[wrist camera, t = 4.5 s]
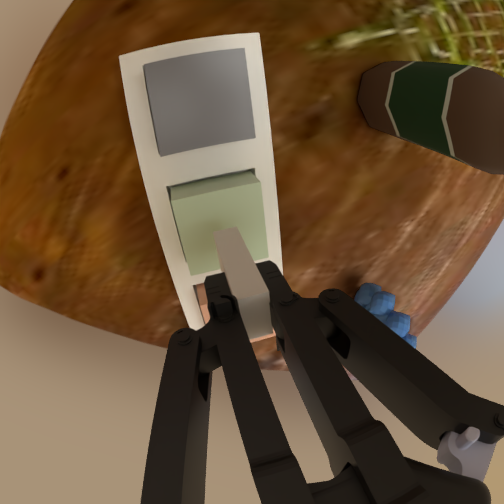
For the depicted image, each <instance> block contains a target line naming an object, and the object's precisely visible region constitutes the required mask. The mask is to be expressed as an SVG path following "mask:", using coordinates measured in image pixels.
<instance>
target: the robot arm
mask: <svg viewBox="0 0 504 504" xmlns="http://www.w3.org/2000/svg"><path fill="white" fill-rule="evenodd" d="M213 235H214V240H215V245H216V250H217V255H218V259H219V264H220V268H221V272H222V273H218V274H213V275H209V276H206V278H205V281H204V287H205V291H206V296H207V301H208V304H207V308H208V311H209V315H210V320H209V321H208V323H207V324H206V325H205V326H203V327H202V328H200V329H198V330H194V329H192V328H183V329H179V330H178V331H176V332H175V333H174V334H172V336H171V338H170V341H169V345H168V350H167V354H166V359H165V363H164V368H163V373H162V377H161V382H160V387H159V392H158V397H157V402H156V408H155V413H154V419H153V424H152V429H151V435H150V442H149V447H148V454H147V460H146V467H145V474H144V481H143V489H142V497H141V504H204V500H205V477H206V459H207V440H208V424H209V411H210V397H211V384H212V371H213V370H215V369H216V368H218V367H220V366H222V367H223V371H224V375H225V379H226V383H227V386H228V390H229V394H230V398H231V401H232V405H233V409H234V412H235V416H236V420H237V423H238V427H239V430H240V434H241V437H242V440H243V444H244V447H245V450H246V454H247V457H248V460H249V463H250V468H251V472H252V476H253V479H254V482H255V485H256V488H257V491H258V494H259V497H260V500H261V503H262V504H491V496H490V492H489V489H488V488H487V486H486V485H485V484H484V483H483V480H484V478H485V475H486V472H487V470H488V467H489V464H490V461H491V458H492V455H493V452H494V448H495V446H496V443H497V442H498V441H499V440H500V439H501V438H503V437H504V406H503V405H500V404H497V403H495V402H492V401H489V400H487V399H484V398H481V397H478V396H476V395H473V394H470V393H468V392H467V391H466V390H465V389H464V388H462V387H461V386H460V385H459V384H458V383H456V382H455V381H454V380H453V379H451V378H450V377H449V376H448V375H447V374H446V373H444V372H443V371H442V370H441V369H439V368H438V367H437V366H436V365H435V364H433V363H432V362H431V361H430V360H428V359H427V358H426V357H425V356H424V355H422V354H421V353H420V352H419V351H418V350H416V349H415V348H414V347H413V346H411V345H410V344H409V343H408V342H406V341H405V340H404V339H403V338H401V337H400V336H399V335H398V334H396V333H395V332H394V331H393V330H391V329H390V328H389V327H388V326H386V325H385V324H384V323H382V322H381V321H380V320H379V319H377V318H376V317H375V316H374V315H372V314H371V313H370V312H369V311H367V310H366V309H365V308H363V307H362V306H361V305H360V304H358V303H357V302H356V301H354V300H353V299H352V298H351V297H349V296H348V295H347V294H345V293H344V292H343V291H341V290H339V289H326V290H324V291H322V292H321V293H320V295H319V298H302V297H301V296H300V295H299V294H297V293H295V292H293V291H292V290H291V288H290V286H289V285H288V283H287V281H286V280H285V278H284V276H283V275H282V273H281V271H280V270H279V268H278V266H277V265H276V264H275V263H273V262H272V261H270V260H268V261H264V262H260V263H256V264H255V262H254V260H253V258H252V256H251V254H250V252H249V250H248V248H247V246H246V244H245V242H244V240H243V238H242V236H241V234H240V232H239V230H238V228H237V226H236V227H232V228H227V229H223V230H219V231H214V232H213ZM273 329H274V331H275V333H276V343H277V351H279V350H281V353H282V355H283V357H284V359H285V362H286V364H287V366H288V368H289V371H290V373H291V375H292V377H293V380H294V382H295V384H296V386H297V389H298V390H299V393H300V395H301V398H302V400H303V402H304V404H305V406H306V409H307V411H308V413H309V415H310V417H311V420H312V422H313V424H314V426H315V429H316V431H317V433H318V435H319V437H320V440H321V442H322V444H323V446H324V448H325V451H326V453H327V455H328V458H329V462H330V467H331V470H332V472H333V475H334V478H333V479H331V480H329V481H324V482H317V483H309V484H307V483H306V480H305V478H304V476H303V473H302V471H301V468H300V466H299V464H298V461H297V459H296V457H295V456H294V454H293V453H292V451H291V449H290V446H289V444H288V441H287V439H286V436H285V434H284V431H283V429H282V426H281V423H280V421H279V418H278V416H277V413H276V410H275V408H274V405H273V402H272V400H271V397H270V394H269V392H268V389H267V386H266V384H265V381H264V378H263V376H262V373H261V370H260V367H259V365H258V362H257V359H256V356H255V354H254V351H253V348H252V345H251V343H250V340H251V339H255V338H259V337H262V336H266V335H269V334H273ZM279 348H280V349H279ZM342 365H343V366H344V367H345V368H346V369H347V370H348V371H349V372H350V373H351V374H352V375H353V376H355V377H356V378H357V379H358V380H359V381H360V382H361V383H362V384H363V385H364V386H365V387H366V388H367V389H368V390H369V391H370V392H371V393H372V394H373V395H374V396H375V397H376V398H377V399H378V400H379V401H380V402H381V403H382V404H383V405H384V406H385V407H386V408H387V409H388V410H390V411H391V412H392V413H393V414H394V415H395V416H396V417H397V418H398V419H399V420H400V421H401V422H402V423H403V424H404V425H405V426H406V427H407V428H408V429H409V430H410V431H412V432H413V433H414V434H415V435H416V436H417V437H418V438H419V439H420V440H422V441H423V442H424V443H426V444H427V445H429V446H430V447H432V448H434V449H436V450H438V455H437V461H438V462H439V463H441V464H444V465H445V466H447V468H448V469H449V471H450V472H449V471H446V470H442V469H439V468H436V467H433V466H430V465H427V464H424V463H421V462H418V461H415V460H412V459H410V458H407V457H403V455H402V453H401V451H400V450H399V448H398V446H397V445H396V443H395V441H394V439H393V438H392V436H391V434H390V433H389V431H388V429H387V428H386V426H385V425H384V424H383V423H382V422H381V421H378V420H375V419H374V418H373V417H372V416H371V414H370V412H369V410H368V408H367V407H366V405H365V403H364V402H363V400H362V398H361V397H360V395H359V393H358V392H357V390H356V388H355V386H354V385H353V383H352V381H351V380H350V378H349V376H348V374H347V373H346V371H345V369H344V368H343V366H342Z"/></svg>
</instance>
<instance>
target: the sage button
mask: <svg viewBox="0 0 504 504" xmlns="http://www.w3.org/2000/svg"><path fill="white" fill-rule="evenodd" d="M171 204H172V208H173V212H174V216H175V220H176V224H177V227H178V231H179V235H180V239H181V243H182V246H183V250H184V254H185V257H186V261H187V264H188V268H189V271H190V275H191V276H193V275H198V274H202V273H206V272H210V271H214V270H219V269H221V268H220V264H219V259H218V255H217V250H216V245H215V240H214V235H213V232H214V231H219V230H223V229H227V228H232V227H236V226H237V228H238V230H239V232H240V234H241V236H242V238H243V240H244V242H245V244H246V246H247V248H248V250H249V252H250V254H251V256H252V258H253V260H254V261H256V260H260V259H264V258H268V257H269V255H268V245H267V235H266V226H265V216H264V207H263V197H262V188H261V182H260V181H259V180H258V179H257V178H256V177H255V176H254V175H253V174H252V173H251V171H246V172H240V173H235V174H230V175H225V176H220V177H215V178H210V179H206V180H201V181H197V182H192V183H188V184H183V185H179V186H175V187H171Z"/></svg>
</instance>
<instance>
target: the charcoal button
mask: <svg viewBox="0 0 504 504" xmlns="http://www.w3.org/2000/svg"><path fill="white" fill-rule="evenodd" d="M144 69H145V75H146V81H147V88H148V94H149V99H150V105H151V111H152V116H153V121H154V126H155V132H156V137H157V141H158V146H159V151H160V156H161V157H163V156H167V155H171V154H175V153H180V152H184V151H189V150H193V149H198V148H203V147H208V146H213V145H218V144H224V143H229V142H235V141H241V140H247V139H254V138H256V135H255V127H254V118H253V110H252V102H251V94H250V86H249V78H248V70H247V62H246V55H245V48H236V49H226V50H218V51H210V52H203V53H197V54H190V55H185V56H179V57H174V58H169V59H164V60H160V61H155V62H151V63H147V64H144Z"/></svg>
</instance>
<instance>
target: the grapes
mask: <svg viewBox="0 0 504 504" xmlns="http://www.w3.org/2000/svg"><path fill="white" fill-rule="evenodd" d="M354 301H356V302H357V303H358V304H360V305H361V306H362V307H363V308H365V309H366V310H367V311H369V312H370V313H371V314H372V315H374V316H375V317H376V318H377V319H379V320H380V321H381V322H382V323H384V324H385V325H386V326H388V327H389V328H390V329H391V330H393V331H394V332H395V333H396V334H398V335H399V336H400V337H401V338H403V339H404V340H405V341H406V342H408V343H409V344H410V345H411V346H413V347H414V348H415V349H416V342H417V341H416V338H417V337H416V336H413V335H411V334H408V332H409V328H410V316H409V315H406V314H404V313H401V312H396V311H393V310H394V305H395V295H393V294H391V293H389V292H386V291H381V287H380V286H378V285H376V284H373V283H364V284H362V285H361V287H360V289H359V290H358V291H357V293H356V295H355V298H354Z"/></svg>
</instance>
